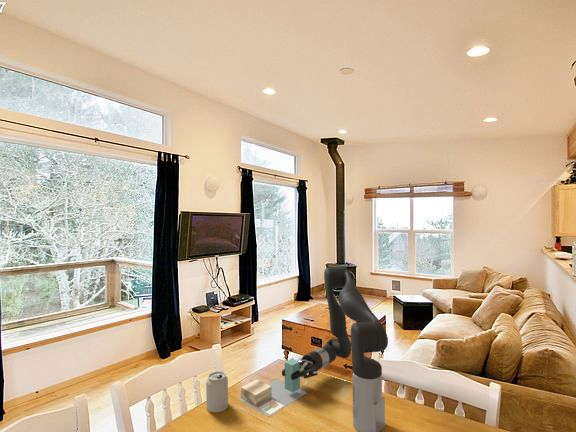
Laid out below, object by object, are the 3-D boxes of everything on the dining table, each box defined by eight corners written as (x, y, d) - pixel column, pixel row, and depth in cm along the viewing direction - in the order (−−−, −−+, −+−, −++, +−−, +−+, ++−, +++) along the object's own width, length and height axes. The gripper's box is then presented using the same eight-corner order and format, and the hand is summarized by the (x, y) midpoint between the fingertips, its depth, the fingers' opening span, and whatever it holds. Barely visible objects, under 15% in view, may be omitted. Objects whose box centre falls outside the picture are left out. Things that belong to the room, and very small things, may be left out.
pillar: (300, 388, 126) (299, 361, 126) (292, 392, 123) (292, 365, 123) (292, 384, 129) (291, 358, 129) (284, 388, 126) (284, 362, 126)
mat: (307, 394, 127) (307, 392, 127) (269, 419, 112) (269, 416, 112) (277, 380, 138) (277, 378, 138) (238, 401, 123) (238, 398, 123)
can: (225, 415, 115) (225, 380, 115) (204, 415, 115) (203, 380, 115) (230, 402, 122) (229, 369, 122) (209, 402, 122) (209, 369, 122)
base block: (271, 397, 124) (271, 386, 124) (255, 406, 118) (255, 395, 118) (257, 389, 130) (257, 379, 130) (241, 397, 124) (240, 387, 124)
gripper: (302, 346, 142) (273, 359, 129) (330, 355, 132) (301, 371, 119) (302, 364, 142) (273, 379, 129) (330, 374, 132) (301, 392, 119)
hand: (287, 375), depth 124 cm, fingers closed on pillar, 4 cm apart
